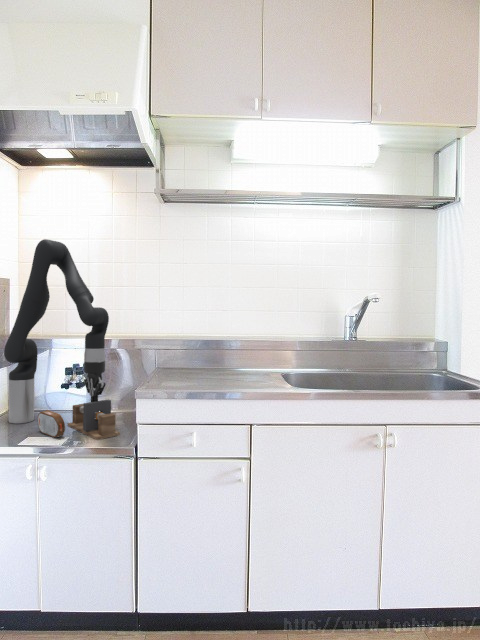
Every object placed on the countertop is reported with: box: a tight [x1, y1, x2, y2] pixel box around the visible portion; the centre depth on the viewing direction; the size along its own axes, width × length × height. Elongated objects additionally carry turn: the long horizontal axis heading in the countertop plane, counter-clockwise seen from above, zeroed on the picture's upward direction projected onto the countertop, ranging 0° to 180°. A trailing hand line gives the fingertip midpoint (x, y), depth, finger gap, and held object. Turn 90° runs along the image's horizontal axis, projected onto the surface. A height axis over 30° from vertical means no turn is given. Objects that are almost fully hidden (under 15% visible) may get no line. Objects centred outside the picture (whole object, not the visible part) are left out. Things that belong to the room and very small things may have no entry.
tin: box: [37, 409, 66, 439], centre depth 153 cm, size 15×3×8 cm, turn 53°
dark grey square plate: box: [82, 399, 112, 431], centre depth 158 cm, size 2×10×10 cm, turn 136°
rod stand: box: [67, 403, 121, 441], centre depth 160 cm, size 24×9×8 cm, turn 46°
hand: (94, 405), depth 160 cm, fingers closed
